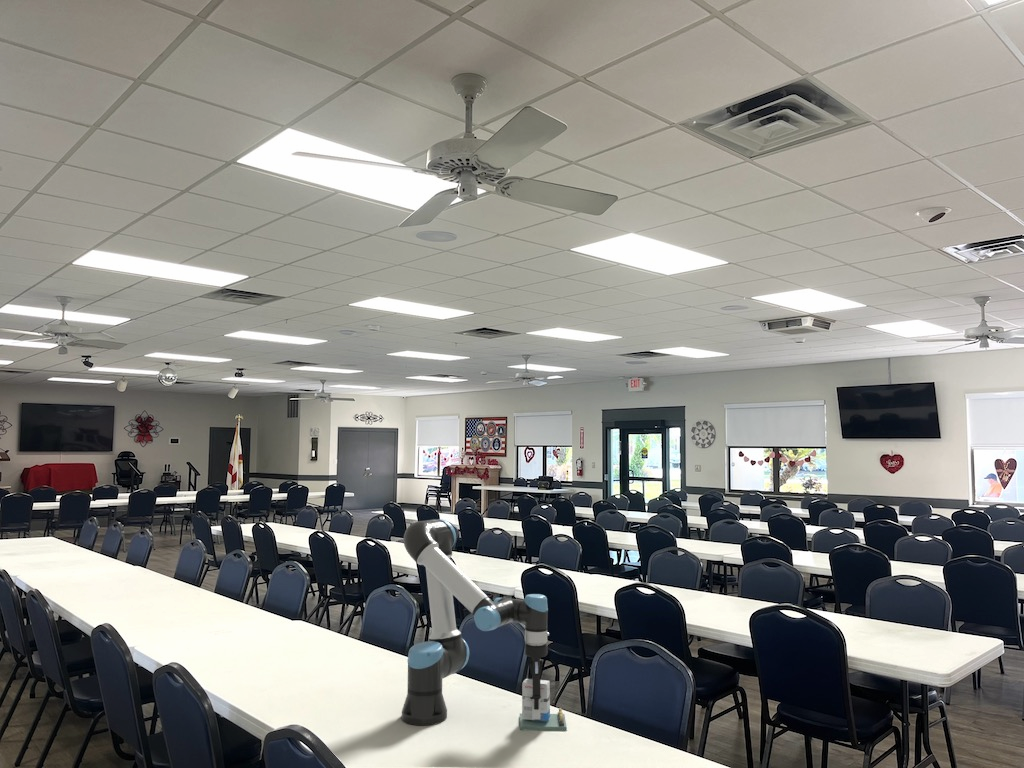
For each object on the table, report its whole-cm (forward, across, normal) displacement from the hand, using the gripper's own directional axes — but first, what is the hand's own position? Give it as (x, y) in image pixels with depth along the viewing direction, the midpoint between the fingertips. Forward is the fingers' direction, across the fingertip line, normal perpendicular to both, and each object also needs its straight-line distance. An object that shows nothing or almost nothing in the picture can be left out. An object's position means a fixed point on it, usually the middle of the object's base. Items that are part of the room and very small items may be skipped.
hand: (536, 715), depth 237 cm
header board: (+2, 0, -2) cm, 3 cm away
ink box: (+1, 0, 0) cm, 1 cm away
